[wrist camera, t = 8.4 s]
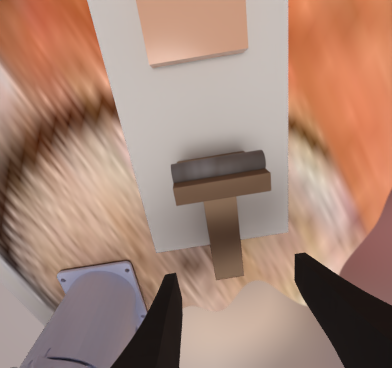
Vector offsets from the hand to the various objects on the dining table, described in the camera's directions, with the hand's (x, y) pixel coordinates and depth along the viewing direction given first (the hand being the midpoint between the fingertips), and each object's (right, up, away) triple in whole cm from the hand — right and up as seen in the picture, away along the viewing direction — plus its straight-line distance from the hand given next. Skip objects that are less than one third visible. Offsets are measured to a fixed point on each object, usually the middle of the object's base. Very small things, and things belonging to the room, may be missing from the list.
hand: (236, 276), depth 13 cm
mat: (-2, +11, +6) cm, 12 cm away
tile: (-2, +15, +3) cm, 15 cm away
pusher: (-1, +4, +8) cm, 9 cm away
